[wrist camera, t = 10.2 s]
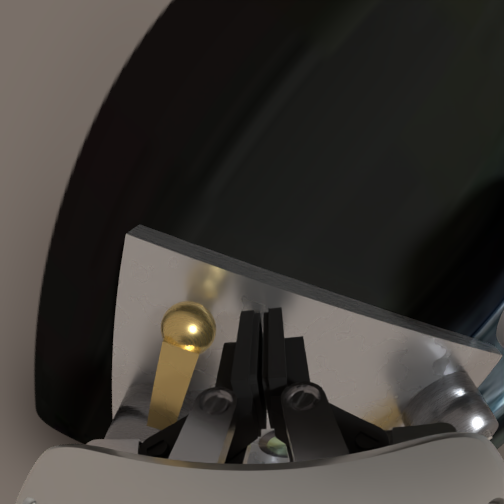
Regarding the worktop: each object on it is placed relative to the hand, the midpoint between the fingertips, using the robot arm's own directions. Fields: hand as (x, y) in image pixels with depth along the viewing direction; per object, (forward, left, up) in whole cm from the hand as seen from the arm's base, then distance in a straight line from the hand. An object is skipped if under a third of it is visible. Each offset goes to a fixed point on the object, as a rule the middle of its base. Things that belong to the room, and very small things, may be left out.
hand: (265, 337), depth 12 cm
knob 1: (+3, +6, -1) cm, 7 cm away
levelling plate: (-6, +10, -3) cm, 12 cm away
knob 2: (-14, +7, -1) cm, 15 cm away
